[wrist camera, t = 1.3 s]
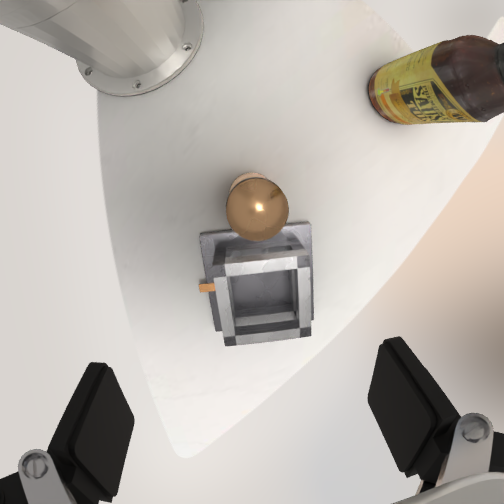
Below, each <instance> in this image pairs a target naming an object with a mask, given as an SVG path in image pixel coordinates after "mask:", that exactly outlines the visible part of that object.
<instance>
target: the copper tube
mask: <svg viewBox="0 0 504 504" xmlns="http://www.w3.org/2000/svg"><path fill="white" fill-rule="evenodd" d="M288 213H289V207H288V202H287V199H286V197H285V195H284V193H283V192H282V191H281V189H280V188H279V187H278V186H277V185H276V184H275V183H273V182H272V181H270V180H268V179H267V178H266V177H264V176H263V175H261V174H258V173H246V174H243V175H241V176H239V177H238V178H236V179H235V181H234V182H233V183H232V185H231V188H230V191H229V195H228V198H227V203H226V215H227V219H228V222H229V224H230V226H231V228H232V229H233V230H234V231H235V232H236V233H237V234H238V235H239V236H241V237H243V238H245V239H247V240H251V241H263V240H267V239H269V238H272V237H273V236H275V235H276V234H278V233H279V232H280V231H281V230H282V228H283V227H284V225H285V224H286V221H287V218H288Z"/></svg>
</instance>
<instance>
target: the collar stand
mask: <svg viewBox="0 0 504 504" xmlns="http://www.w3.org/2000/svg"><path fill="white" fill-rule="evenodd" d="M200 242H201V249H202V255H203V261H204V268H205V274H206V280H207V284H199V289H200V292H209V297H210V303H211V308H212V314H213V319H214V325H215V330H216V332H217V331H223V337H224V343H225V346H235V345H245V344H254V343H263V342H271V341H279V340H287V339H294V338H301V337H308V336H311V320H314V305H313V261H312V236H311V224H310V223H309V222H300V223H290V224H285V225H284V227H283V228H282V230H281V231H280V232H279V233H278V234H276V235H275V236H273V237H272V238H269V239H267V240H263V241H251V240H247V239H245V238H243V237H241V236H239V235H238V234H237V233H236V232H235V231H234V230H225V231H217V232H208V233H201V234H200Z"/></svg>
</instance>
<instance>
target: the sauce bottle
mask: <svg viewBox="0 0 504 504" xmlns="http://www.w3.org/2000/svg"><path fill="white" fill-rule="evenodd" d="M369 96H370V100H371V102H372V104H373V106H374V107H375V108H376V110H377V111H378V112H379V113H380V114H381V115H382V116H383V117H384V118H386V119H387V120H389V121H390V122H394V123H400V124H405V125H412V124H427V123H450V122H487V121H488V120H490V119H491V118H493V117H495V116H497V115H499V114H501V113H503V112H504V43H502V44H497V43H495V42H493V41H492V40H488V39H486V38H483V37H480V36H475V35H466V36H461V37H458V38H455V39H453V40H449V41H448V40H447V41H442V42H440V43H437V44H434V45H432V46H429V47H427V48H424V49H421V50H419V51H416V52H414V53H411V54H409V55H407V56H404V57H402V58H399V59H397V60H395V61H392V62H390V63H388V64H386V65H384V66H383V67H381V68H380V69H378V70H377V71H376V72H375V73H374V74H373V76H372V77H371V79H370V83H369Z"/></svg>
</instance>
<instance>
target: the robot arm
mask: <svg viewBox="0 0 504 504" xmlns="http://www.w3.org/2000/svg"><path fill="white" fill-rule="evenodd" d="M184 2H185V3H184ZM0 24H1V25H4V26H6V27H8V28H10V29H13V30H15V31H17V32H20V33H22V34H24V35H26V36H29V37H31V38H33V39H35V40H37V41H39V42H42V43H44V44H46V45H48V46H50V47H52V48H54V49H57V50H58V51H60V52H62V53H65V54H66V55H68V56H70V57H73V58H75V59H76V62H77V65H78V69H79V71H80V73H81V75H82V76H83V78H84V79H85V80H86V81H87V82H88V83H89V84H90V85H91V86H92V87H94V88H96V89H98V90H99V91H102V92H104V93H107V94H111V95H117V96H132V95H137V94H143V93H146V92H148V91H151V90H154V89H156V88H158V87H160V86H162V85H164V84H166V83H167V82H169V81H170V80H171V79H173V78H174V77H175V76H177V75H178V74H179V73H180V72H181V71H182V70H183V69H184V68H185V67H186V66H187V65H188V64H189V62H190V61H191V60H192V58H193V57H194V55H195V54H196V52H197V50H198V48H199V46H200V43H201V39H202V35H203V17H202V13H201V10H200V7H199V5H198V3H197V2H196V0H0ZM188 47H189V48H191V49H190V50H188V51H186V49H187V48H188ZM91 72H92V73H91ZM138 84H141V86H140V87H139V88H137V85H138ZM368 404H369V406H370V408H371V410H372V412H373V414H374V416H375V419H376V421H377V423H378V425H379V427H380V429H381V431H382V434H383V436H384V438H385V440H386V442H387V445H388V447H389V449H390V451H391V453H392V456H393V458H394V460H395V462H396V464H397V467H398V469H399V471H400V472H405V475H406V477H407V478H408V477H410V476H413V475H416V474H418V475H419V476H420V479H421V482H420V485H419V487H418V490H417V492H416V495H415V496H412V497H410V498H407V499H404V500H401V501H398V502H396V503H393V504H504V434H503V433H499V432H494V431H493V425H492V423H491V421H490V420H489V419H488V418H487V417H485V416H484V415H482V414H479V413H469V414H466V415H464V416H463V417H461V416H460V415H459V413H458V412H457V410H456V409H455V408H454V406H453V405H452V403H451V402H450V400H449V399H448V398H447V396H446V395H445V393H444V392H443V391H442V389H441V388H440V387H439V385H438V384H437V382H436V381H435V380H434V378H433V377H432V376H431V374H430V373H429V372H428V370H427V369H426V368H425V367H424V366H423V365H422V363H421V362H420V361H419V360H418V358H417V357H416V356H415V354H414V353H413V352H412V350H411V349H410V348H409V346H408V345H407V344H406V343H405V341H404V340H403V339H402V338H401V337H394V338H389V339H385V340H384V341H383V344H381V345H380V346H379V349H378V355H377V359H376V363H375V368H374V372H373V376H372V381H371V385H370V389H369V393H368ZM133 427H134V416H133V413H132V412H131V409H130V407H129V405H128V403H127V401H126V399H125V397H124V395H123V392H122V390H121V388H120V386H119V383H118V382H117V379H116V377H115V374H114V372H113V370H112V368H111V367H108V365H107V364H106V363H97V362H91V363H90V364H89V365H88V367H87V368H86V370H85V372H84V374H83V376H82V378H81V380H80V382H79V384H78V386H77V388H76V390H75V392H74V394H73V396H72V398H71V400H70V402H69V404H68V406H67V408H66V410H65V412H64V414H63V416H62V418H61V420H60V422H59V425H58V427H57V429H56V431H55V433H54V435H53V437H52V440H51V442H50V444H49V446H48V450H47V452H46V451H43V450H41V449H34V450H30V451H28V452H26V453H25V454H24V455H23V456H22V457H21V459H20V460H19V464H18V472H16V473H13V474H11V475H9V476H6V477H4V478H2V479H0V504H98V503H99V500H101V501H105V502H110V503H111V502H112V498H113V496H116V495H117V493H118V488H119V484H120V479H121V475H122V471H123V467H124V462H125V458H126V454H127V450H128V446H129V442H130V439H131V435H132V431H133Z"/></svg>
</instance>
